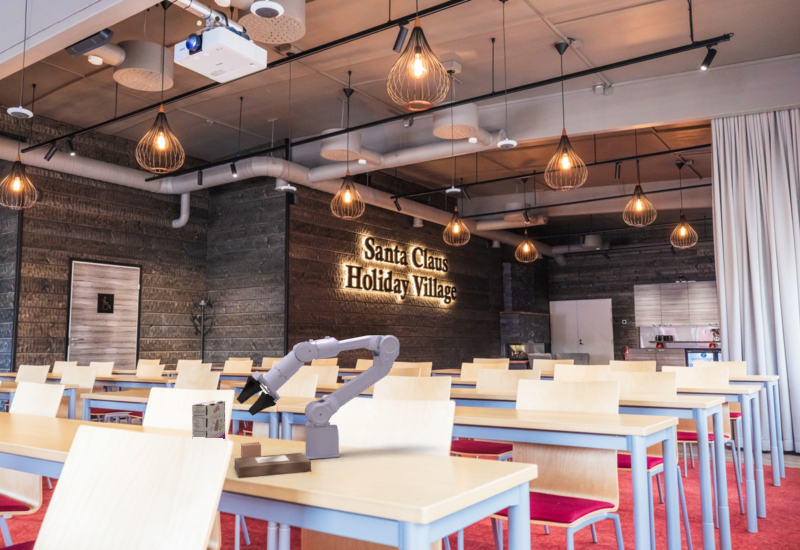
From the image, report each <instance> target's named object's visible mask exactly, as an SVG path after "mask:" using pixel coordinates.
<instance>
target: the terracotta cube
mask: <svg viewBox="0 0 800 550" xmlns="http://www.w3.org/2000/svg"><path fill="white" fill-rule="evenodd" d="M256 456H262V444H261V443H260V442H259V441H256V442H243V443H240V458H243V457H256Z"/></svg>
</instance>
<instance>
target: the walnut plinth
mask: <svg viewBox="0 0 800 550" xmlns="http://www.w3.org/2000/svg"><path fill="white" fill-rule="evenodd" d="M234 470H235V473H236V474H237V477H238V479H241V478H252V477H262V476H273V475H275V476H276V475H284V474H285V475H286V474H293V473H294V474H296V473H306V472H307V473H308V472H311V471H312V461H311V459H308V458H307V457H305V456H304V455H303V452H293V453H283V454H282V453H281V454H271V455H270V454H269V455H261V456H256V457H243V458H241V457H235V458H234Z"/></svg>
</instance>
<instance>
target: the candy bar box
mask: <svg viewBox="0 0 800 550" xmlns="http://www.w3.org/2000/svg"><path fill="white" fill-rule="evenodd" d="M191 408H192V411H191V412H192V419H191V420H192V424H191V425H192V438H193V437H205V438H223V439H225V440H226V400H210V401H205V402H201V403H195V404H192V407H191Z"/></svg>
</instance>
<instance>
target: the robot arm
mask: <svg viewBox="0 0 800 550" xmlns="http://www.w3.org/2000/svg"><path fill="white" fill-rule="evenodd" d="M400 346H401V345H400V341H399V339H398V338H397V337H396V335H395V336H394V335H392V334H387V335H375V334H374V335H364V336H358V337H353V338H352V337H351V338H347V339H342V340H338V339H336V338H335V337H330V336H327V335H326V336H324V338H322V339H316V340H315V339H314V340H313V339H308V341H303V342H302V341H301V342H299V343H297V344H294V345H293V348H292V350H291V351H289V352H288V354H287V355H284V356H283V357H282V359H281V360H279V361H278V362H277V363H276V364H275V365H274V366H273V367H271V369H269V371H268V372H267V373H266V374H264V375H262V374H261V373H260V372H259V371H258V370H256V371H255V372H254V373H253V374H252V375H249V376H248V377H247V379H246V382H245V385H244V386H243V389H242V390H241V391H240V393H239V394H238V396H237V398H236V400H237V402H239V404H240V405H242V404H244V403H245V402H247V401H248V400H249V399H250V398H252V397H253V396H254V395H256V394H258V393H260V392H261V393H260V395H259V397H258V398H257V399H256V400H255V401H254V402H253V404H252V405H251V406H250V407H249V409H248V410H247V411H248V413H249V414H250V415H251V416H252V417H253V416H256V414H258V413H260V412H262V411H264V410H265V409H269V408H271V407H275V406H276V405H277V402H278V401H279V400H280V399H281V396H280V395H279V394H278V393H277V391H279V390H280V389H281V387H283V386H284V385H285V384H286V383H287V382H288V381H289V380H290V379H291V378H292V377H293V376H294V375H296V373H297V372H298V371H299V370H300V368H302V367H303V365H305V363H310V362H312V361H313V360H315V361H317V360H324V359H328V358H334V357H337V356H338V354H339V353H341V352H343V351H350V350H358V349H367V350H368V351H372V355H373V359H372V364H371V366H369V367H368V368H367V369H365V370H363V371H362V372H361V373H359V374H358V375H356V376H355V377H354V378H353V377H352V379H351V380H349V381H347V382H346V383H344V384H343V385H341V386H340V387H339V388H337V389H336V390H334V391H333V392H331V393H329V394H327V395H326V396H325V395H324V396H323V397H322V398H320V399H318V400H313V401H310V402H309V403H307V404H306V406H305V408H304V416H305V418H306V420H307V421H306V423H305V428H304V429H305V432H304V434H305V437H304V438H305V452H302V454H303V455H304V456H305V457H307V458H308V459H309V460H316V459H329V458H339V457H340V446H339V445H340V442H339V441H340V439H339V438H340V437H339V436H340V435H339V429H338V428H339V427H338V425H337V424H331V422H330V419H331V418H332V417H333V416H334V415H335V414H337V412H338V411H339V410H340V408H342V407H343V406H344V405H346V404H347V403H349V402H350V401H352V400H353V399H354V398H356V397H357V396H359V395H360V394H362V393H363V392H364V391H366V390H367V389H369V388H371V387H372V386H373V385H375V384H376V383H378V382H379V381H381V380H382V379H384V378H385V377H386V376H388V375H389V374H390V372H391V369H392V367H393V365H394V363H395V361H396V359H397V358H398V357H399V355H400ZM263 390H264V391H263Z"/></svg>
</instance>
